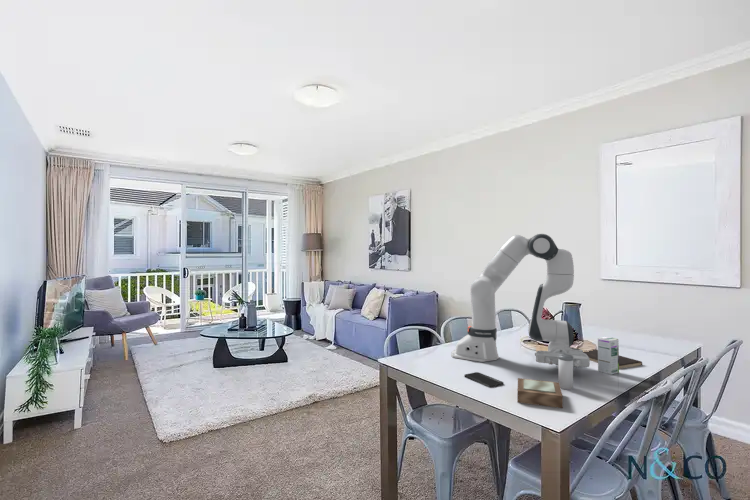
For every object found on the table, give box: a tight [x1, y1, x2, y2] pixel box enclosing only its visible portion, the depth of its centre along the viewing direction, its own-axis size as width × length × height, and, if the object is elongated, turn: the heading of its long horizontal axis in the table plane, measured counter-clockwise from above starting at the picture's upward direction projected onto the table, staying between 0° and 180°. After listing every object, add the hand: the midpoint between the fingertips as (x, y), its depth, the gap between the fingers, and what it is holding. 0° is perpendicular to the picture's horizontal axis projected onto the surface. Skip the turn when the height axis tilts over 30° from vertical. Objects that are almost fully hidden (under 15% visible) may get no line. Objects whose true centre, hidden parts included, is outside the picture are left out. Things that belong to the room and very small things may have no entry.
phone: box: [463, 371, 505, 388], centre depth 157 cm, size 8×1×15 cm
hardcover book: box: [583, 348, 643, 370], centre depth 186 cm, size 16×23×2 cm
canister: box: [557, 354, 574, 391], centre depth 149 cm, size 5×5×12 cm
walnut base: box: [516, 377, 564, 409], centre depth 139 cm, size 14×14×4 cm
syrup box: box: [597, 336, 620, 376], centre depth 168 cm, size 6×6×14 cm
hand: (563, 363), depth 158 cm, fingers open, 8 cm apart
